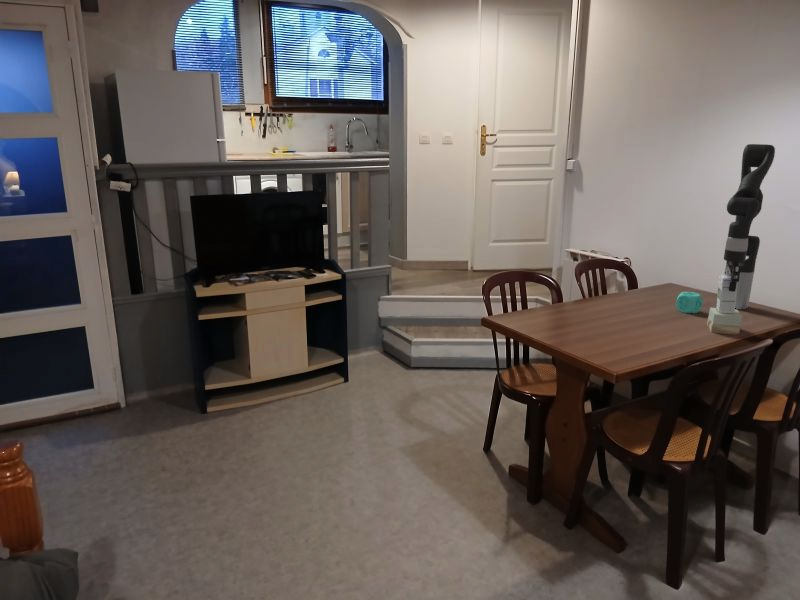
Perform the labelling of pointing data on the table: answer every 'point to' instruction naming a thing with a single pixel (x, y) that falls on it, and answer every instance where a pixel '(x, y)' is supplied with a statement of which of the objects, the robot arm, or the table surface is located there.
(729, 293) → the syrup box
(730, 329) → the tower bottom
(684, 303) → the decorative dice
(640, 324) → the table surface
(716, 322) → the tower top
